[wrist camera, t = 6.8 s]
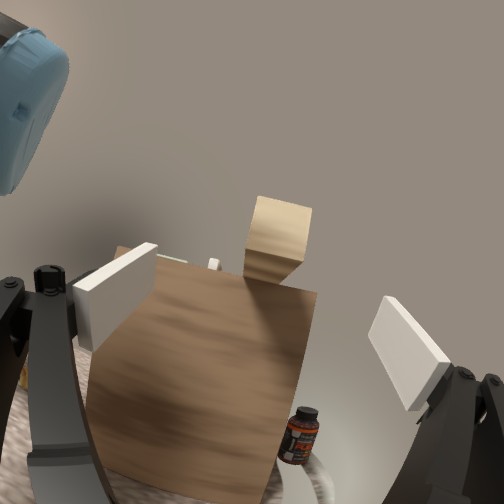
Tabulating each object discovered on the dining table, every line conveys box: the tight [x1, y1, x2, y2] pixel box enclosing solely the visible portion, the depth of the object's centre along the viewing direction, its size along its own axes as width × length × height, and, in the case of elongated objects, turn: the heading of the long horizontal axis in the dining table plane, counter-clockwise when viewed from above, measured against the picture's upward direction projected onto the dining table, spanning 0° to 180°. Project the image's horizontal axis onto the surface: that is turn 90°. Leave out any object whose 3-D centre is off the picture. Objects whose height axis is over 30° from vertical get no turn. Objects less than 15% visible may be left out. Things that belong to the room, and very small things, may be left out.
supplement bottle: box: [278, 406, 319, 465], centre depth 41 cm, size 6×6×11 cm
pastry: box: [18, 367, 28, 391], centre depth 35 cm, size 9×7×4 cm
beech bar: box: [243, 196, 312, 284], centre depth 34 cm, size 32×4×4 cm, turn 3°
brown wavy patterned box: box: [85, 246, 317, 504], centre depth 36 cm, size 20×24×31 cm
